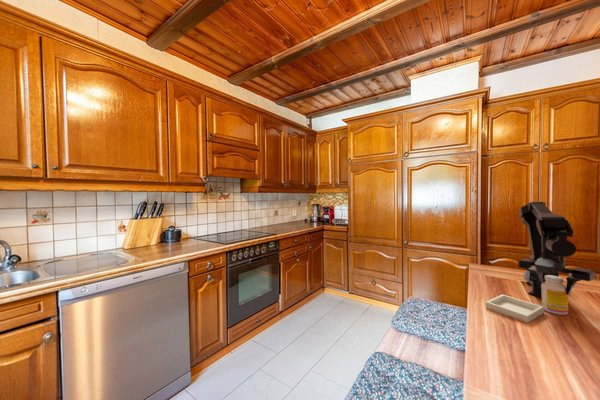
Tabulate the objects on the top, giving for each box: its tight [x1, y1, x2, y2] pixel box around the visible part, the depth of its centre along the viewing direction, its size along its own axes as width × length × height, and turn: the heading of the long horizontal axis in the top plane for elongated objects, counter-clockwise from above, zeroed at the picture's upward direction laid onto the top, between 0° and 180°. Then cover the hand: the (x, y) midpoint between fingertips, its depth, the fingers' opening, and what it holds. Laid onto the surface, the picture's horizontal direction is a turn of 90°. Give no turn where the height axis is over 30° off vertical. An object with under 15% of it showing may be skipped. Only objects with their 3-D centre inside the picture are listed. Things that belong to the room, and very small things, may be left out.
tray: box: [485, 294, 545, 324], centre depth 89 cm, size 13×13×2 cm
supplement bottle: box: [541, 275, 569, 316], centre depth 87 cm, size 7×7×13 cm
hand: (554, 291), depth 87 cm, fingers closed on supplement bottle, 7 cm apart
